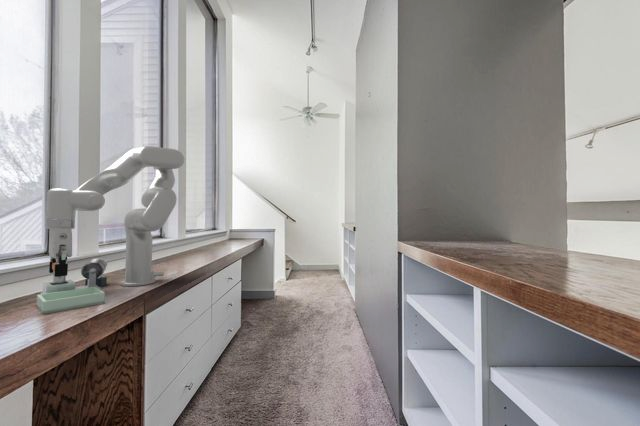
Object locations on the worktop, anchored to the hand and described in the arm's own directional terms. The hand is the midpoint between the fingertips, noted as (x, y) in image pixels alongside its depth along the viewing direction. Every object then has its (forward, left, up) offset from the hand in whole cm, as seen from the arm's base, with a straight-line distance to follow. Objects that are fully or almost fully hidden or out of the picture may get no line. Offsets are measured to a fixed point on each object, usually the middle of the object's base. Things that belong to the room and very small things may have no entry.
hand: (58, 274), depth 99 cm
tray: (-1, +13, -8) cm, 16 cm away
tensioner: (-4, 0, -8) cm, 9 cm away
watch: (-13, -12, -8) cm, 20 cm away
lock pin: (0, 0, -6) cm, 6 cm away
